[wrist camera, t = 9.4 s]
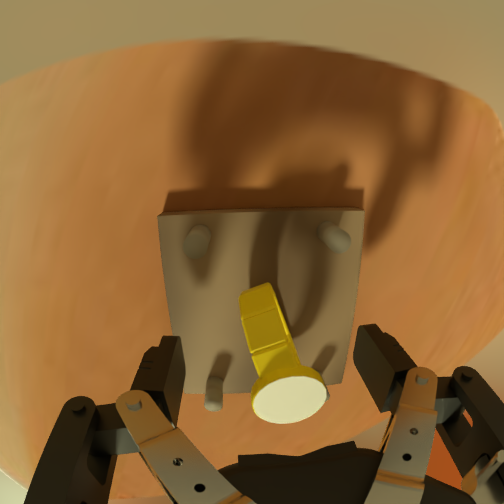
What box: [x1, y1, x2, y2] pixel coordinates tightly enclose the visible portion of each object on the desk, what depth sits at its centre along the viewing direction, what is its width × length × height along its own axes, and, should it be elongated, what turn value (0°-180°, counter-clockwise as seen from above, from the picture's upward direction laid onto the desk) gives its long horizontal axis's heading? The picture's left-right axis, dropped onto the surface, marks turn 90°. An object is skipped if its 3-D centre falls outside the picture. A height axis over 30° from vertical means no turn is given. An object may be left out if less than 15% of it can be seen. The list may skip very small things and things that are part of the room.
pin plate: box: [157, 207, 365, 411], centre depth 15 cm, size 10×11×3 cm
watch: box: [238, 282, 327, 424], centre depth 12 cm, size 6×3×6 cm, turn 20°
